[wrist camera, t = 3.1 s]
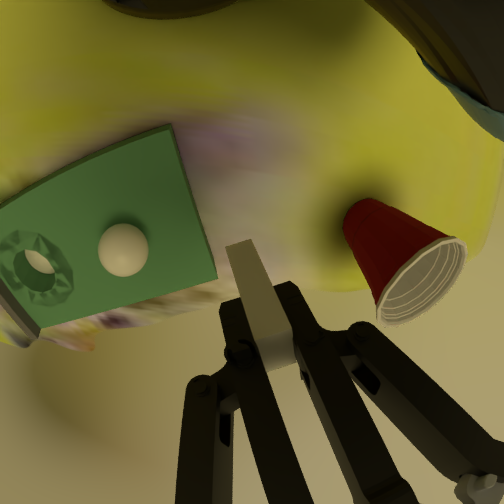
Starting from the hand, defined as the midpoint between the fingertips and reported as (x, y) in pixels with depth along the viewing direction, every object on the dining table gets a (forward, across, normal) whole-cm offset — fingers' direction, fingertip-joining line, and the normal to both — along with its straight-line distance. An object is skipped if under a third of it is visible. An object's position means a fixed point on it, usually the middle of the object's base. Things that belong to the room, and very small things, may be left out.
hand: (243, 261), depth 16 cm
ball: (+5, -8, 0) cm, 10 cm away
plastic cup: (+10, +15, -8) cm, 20 cm away
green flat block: (+10, -13, 0) cm, 17 cm away
